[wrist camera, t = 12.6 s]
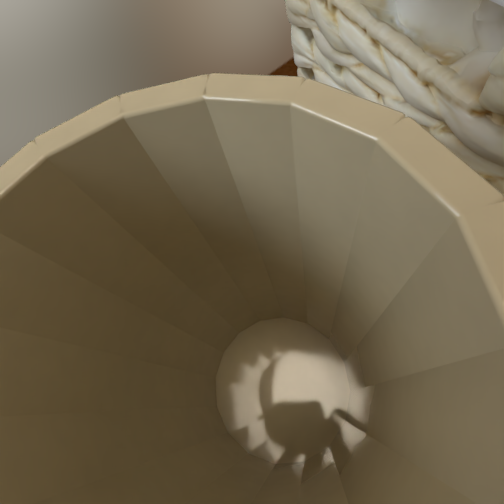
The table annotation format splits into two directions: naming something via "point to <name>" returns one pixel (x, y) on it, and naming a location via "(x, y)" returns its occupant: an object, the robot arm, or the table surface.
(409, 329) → the cup
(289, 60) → the table surface
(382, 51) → the basket
